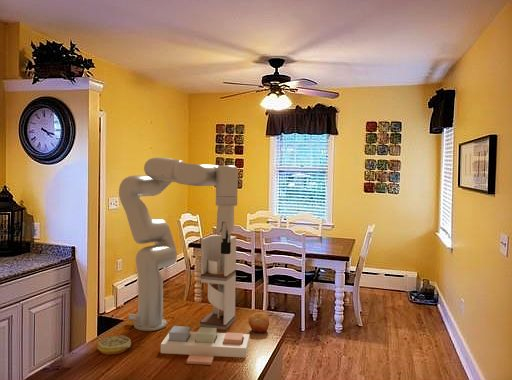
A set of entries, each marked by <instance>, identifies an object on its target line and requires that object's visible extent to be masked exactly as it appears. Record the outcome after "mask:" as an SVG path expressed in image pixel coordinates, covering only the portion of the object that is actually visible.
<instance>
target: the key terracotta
mask: <svg viewBox="0 0 512 380" xmlns="http://www.w3.org/2000/svg"><path fill="white" fill-rule="evenodd" d="M225 333H226V335H225V337H224V344H236V345H242V344H243V334H244V333H243V332H229V331H228V332H225Z"/></svg>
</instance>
